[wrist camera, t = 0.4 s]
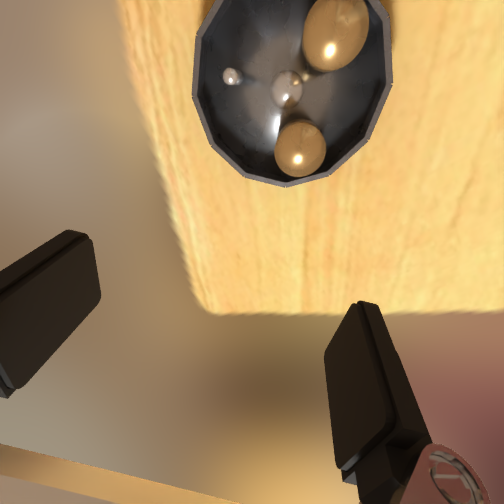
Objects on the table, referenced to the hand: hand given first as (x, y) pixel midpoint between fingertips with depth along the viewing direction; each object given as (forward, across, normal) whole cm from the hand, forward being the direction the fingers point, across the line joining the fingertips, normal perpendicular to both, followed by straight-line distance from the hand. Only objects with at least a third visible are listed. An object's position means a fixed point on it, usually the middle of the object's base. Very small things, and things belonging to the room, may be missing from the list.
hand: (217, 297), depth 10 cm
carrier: (+29, 0, -6) cm, 30 cm away
